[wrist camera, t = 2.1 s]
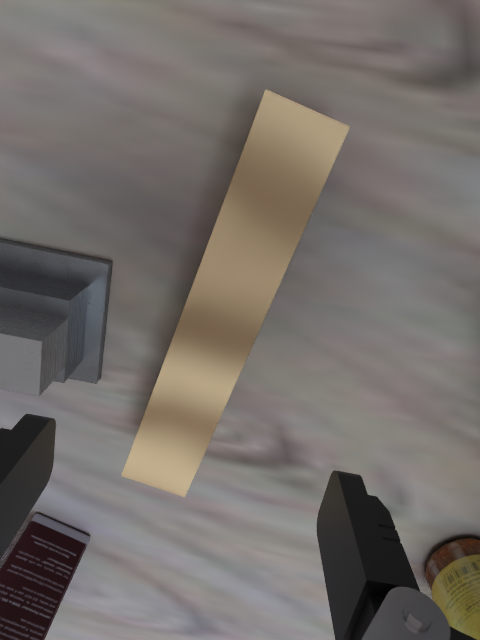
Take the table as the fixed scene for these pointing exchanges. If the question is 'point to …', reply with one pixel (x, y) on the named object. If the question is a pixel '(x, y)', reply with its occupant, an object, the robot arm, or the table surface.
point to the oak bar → (234, 287)
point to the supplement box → (38, 577)
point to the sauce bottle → (457, 584)
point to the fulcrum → (50, 316)
